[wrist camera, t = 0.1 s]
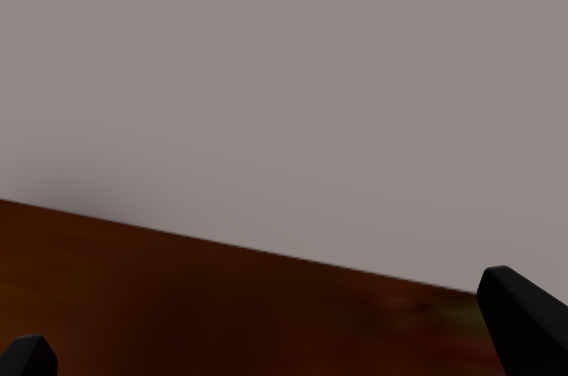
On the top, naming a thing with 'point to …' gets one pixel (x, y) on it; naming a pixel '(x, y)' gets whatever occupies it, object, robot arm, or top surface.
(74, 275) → the top surface
